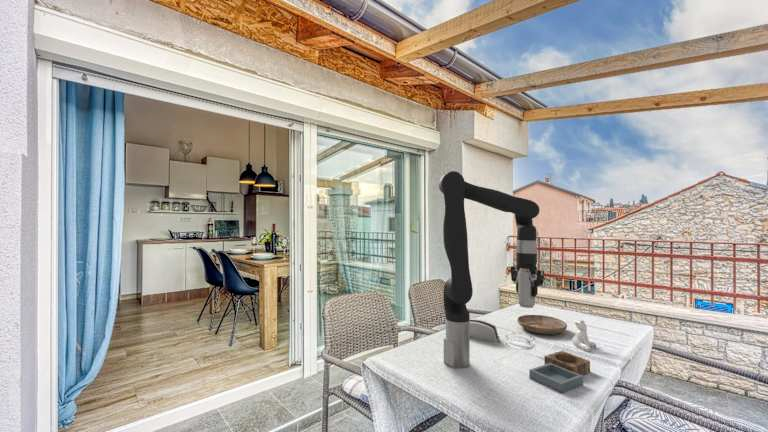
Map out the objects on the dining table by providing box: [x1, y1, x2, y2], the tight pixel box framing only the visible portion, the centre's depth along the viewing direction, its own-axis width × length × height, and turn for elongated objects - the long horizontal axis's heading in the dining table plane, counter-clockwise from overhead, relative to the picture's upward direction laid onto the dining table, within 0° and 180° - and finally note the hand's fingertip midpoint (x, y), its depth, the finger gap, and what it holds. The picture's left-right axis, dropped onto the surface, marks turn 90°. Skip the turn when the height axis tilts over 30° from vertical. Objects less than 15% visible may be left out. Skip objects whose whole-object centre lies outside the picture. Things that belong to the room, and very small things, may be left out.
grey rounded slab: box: [470, 318, 501, 343], centre depth 160 cm, size 17×5×10 cm, turn 51°
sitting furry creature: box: [571, 319, 597, 353], centre depth 149 cm, size 10×9×12 cm
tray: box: [528, 363, 584, 394], centre depth 116 cm, size 12×12×3 cm
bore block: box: [544, 350, 591, 376], centre depth 126 cm, size 12×12×4 cm
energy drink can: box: [517, 268, 536, 309], centre depth 130 cm, size 6×6×15 cm
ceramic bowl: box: [516, 314, 568, 335], centre depth 172 cm, size 23×24×5 cm
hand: (526, 294), depth 130 cm, fingers closed on energy drink can, 6 cm apart
